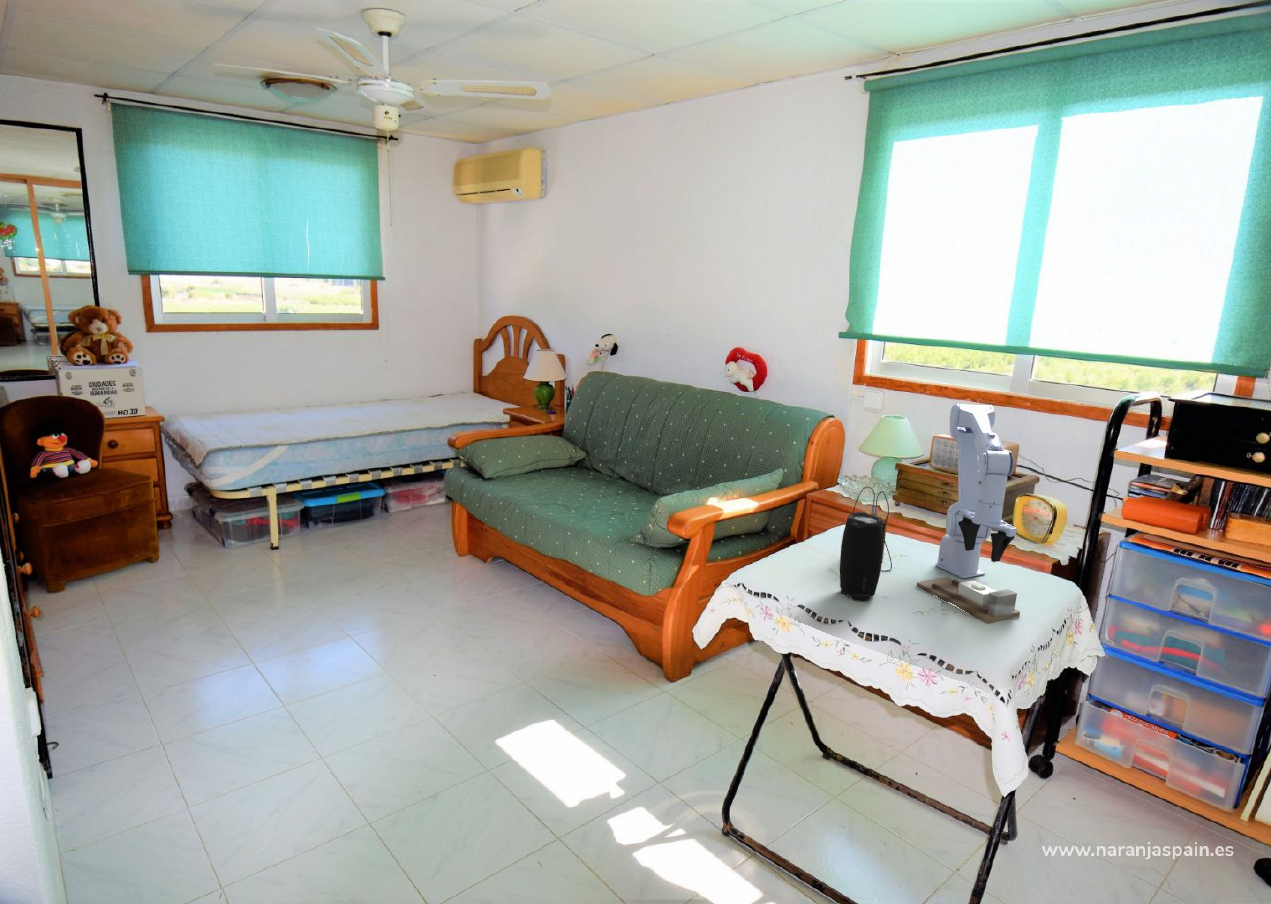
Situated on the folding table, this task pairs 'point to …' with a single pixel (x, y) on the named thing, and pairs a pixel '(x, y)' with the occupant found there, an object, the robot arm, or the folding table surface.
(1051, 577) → the folding table surface
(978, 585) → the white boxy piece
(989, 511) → the robot arm
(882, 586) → the folding table surface
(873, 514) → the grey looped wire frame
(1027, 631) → the folding table surface
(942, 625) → the folding table surface
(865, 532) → the portable speaker
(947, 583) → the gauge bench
